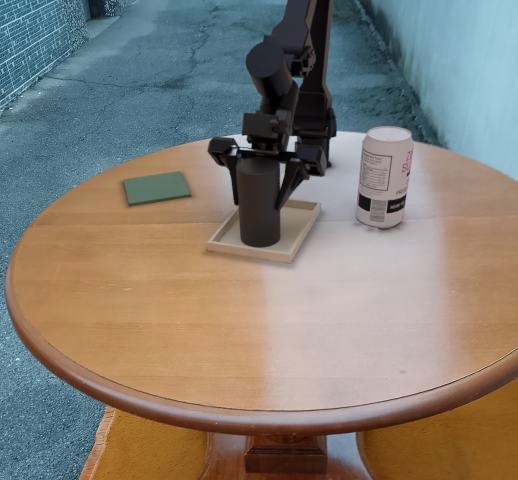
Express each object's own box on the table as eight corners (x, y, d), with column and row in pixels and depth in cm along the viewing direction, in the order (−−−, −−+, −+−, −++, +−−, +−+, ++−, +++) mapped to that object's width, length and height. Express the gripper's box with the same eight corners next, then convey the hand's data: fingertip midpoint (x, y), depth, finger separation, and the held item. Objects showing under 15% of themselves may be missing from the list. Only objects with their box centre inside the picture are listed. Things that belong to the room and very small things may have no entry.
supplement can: (351, 210, 98) (357, 126, 88) (395, 207, 99) (407, 123, 89) (361, 231, 92) (369, 144, 82) (408, 228, 92) (422, 140, 83)
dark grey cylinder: (273, 225, 94) (272, 154, 86) (285, 243, 89) (285, 170, 81) (236, 231, 92) (231, 160, 84) (246, 250, 88) (242, 176, 79)
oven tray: (248, 202, 102) (248, 193, 101) (321, 212, 98) (321, 202, 97) (207, 252, 88) (206, 242, 87) (290, 265, 84) (290, 254, 83)
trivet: (180, 173, 114) (180, 170, 113) (191, 196, 105) (190, 193, 105) (123, 182, 111) (123, 179, 111) (129, 206, 103) (128, 203, 102)
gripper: (205, 82, 81) (183, 181, 80) (326, 90, 76) (303, 195, 75) (228, 119, 92) (209, 207, 91) (335, 128, 87) (315, 221, 86)
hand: (256, 207), depth 86 cm, fingers closed on dark grey cylinder, 7 cm apart
